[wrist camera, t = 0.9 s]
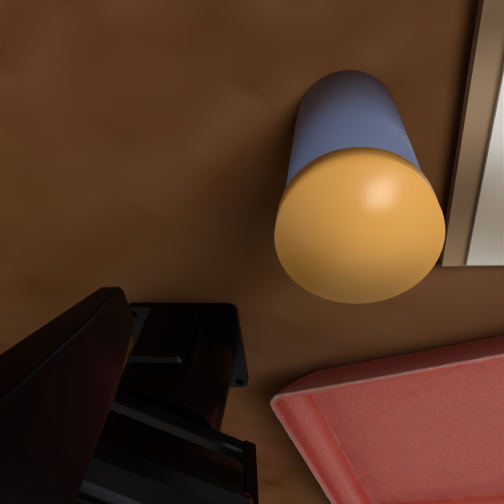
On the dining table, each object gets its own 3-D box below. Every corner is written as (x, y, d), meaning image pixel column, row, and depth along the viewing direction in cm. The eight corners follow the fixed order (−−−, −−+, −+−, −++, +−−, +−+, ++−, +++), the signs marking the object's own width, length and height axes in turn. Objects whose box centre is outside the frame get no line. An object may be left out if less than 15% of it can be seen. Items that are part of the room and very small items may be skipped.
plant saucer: (622, 483, 31) (651, 536, 28) (356, 506, 37) (359, 552, 34) (617, 280, 22) (657, 328, 19) (269, 352, 28) (263, 398, 25)
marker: (394, 166, 20) (434, 304, 12) (296, 170, 20) (279, 303, 13) (402, 63, 17) (456, 159, 10) (291, 71, 18) (267, 167, 11)
